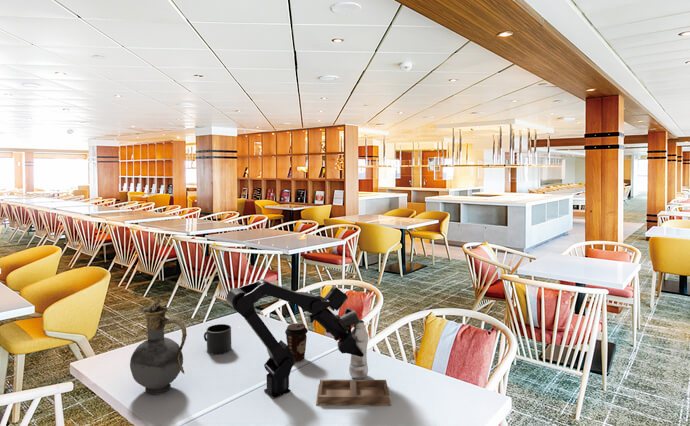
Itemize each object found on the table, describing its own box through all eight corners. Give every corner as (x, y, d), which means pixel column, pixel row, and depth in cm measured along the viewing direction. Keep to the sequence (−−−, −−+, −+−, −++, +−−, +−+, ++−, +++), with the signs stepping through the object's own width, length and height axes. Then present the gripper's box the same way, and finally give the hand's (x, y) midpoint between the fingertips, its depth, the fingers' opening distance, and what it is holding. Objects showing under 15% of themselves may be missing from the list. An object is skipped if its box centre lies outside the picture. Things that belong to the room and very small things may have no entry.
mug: (211, 343, 179) (210, 322, 178) (236, 347, 175) (235, 325, 174) (196, 352, 170) (196, 330, 169) (222, 356, 166) (221, 333, 165)
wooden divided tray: (316, 405, 131) (315, 397, 131) (318, 385, 143) (318, 378, 143) (390, 405, 131) (390, 397, 131) (387, 386, 143) (387, 379, 143)
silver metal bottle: (346, 374, 151) (346, 319, 149) (363, 371, 154) (363, 317, 152) (354, 383, 145) (354, 325, 143) (371, 379, 148) (372, 323, 146)
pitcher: (149, 378, 148) (146, 293, 145) (197, 385, 143) (194, 298, 140) (125, 394, 138) (121, 303, 135) (176, 402, 133) (173, 308, 130)
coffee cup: (310, 355, 167) (309, 322, 166) (306, 364, 159) (305, 330, 158) (288, 354, 168) (287, 322, 167) (283, 363, 160) (282, 329, 159)
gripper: (348, 313, 137) (382, 344, 140) (342, 296, 156) (372, 324, 158) (324, 337, 137) (358, 368, 139) (321, 318, 155) (351, 345, 158)
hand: (360, 350), depth 149 cm, fingers open, 9 cm apart
